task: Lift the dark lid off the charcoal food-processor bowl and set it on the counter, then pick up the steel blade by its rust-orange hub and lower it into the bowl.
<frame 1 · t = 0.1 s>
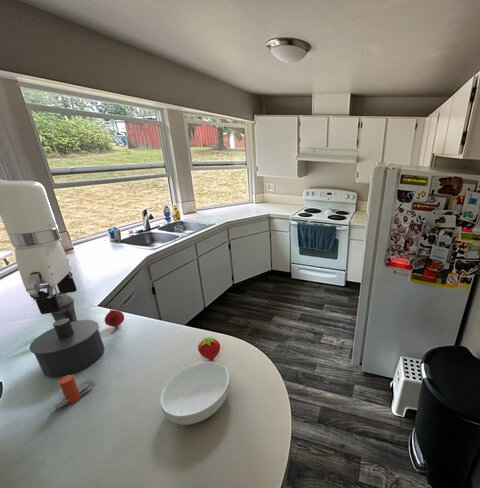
hand: (60, 301, 62), 30 cm above the table, tool pointing down, fingers open, 9 cm apart
beverage cup: (70, 329, 97), on the table
cereal bowl: (200, 404, 70), on the table
strawberry: (211, 360, 85), on the table
processor bowl: (75, 359, 83), on the table
blade: (74, 399, 70), on the table
lid: (66, 336, 80), point 9 cm above the table, touching processor bowl
onion: (117, 326, 99), on the table
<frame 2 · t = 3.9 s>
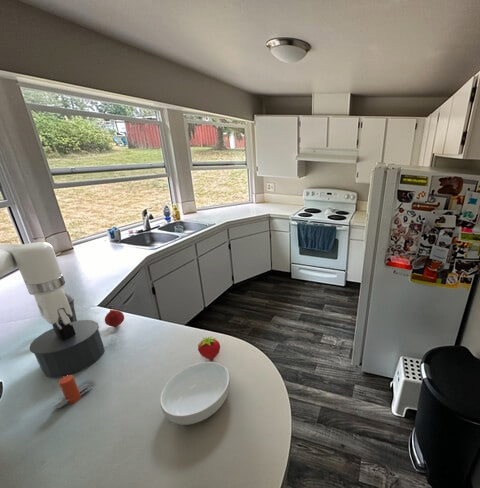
hand: (65, 334, 79), 10 cm above the table, tool pointing down, fingers closed on lid, 3 cm apart
lid: (66, 336, 80), point 10 cm above the table, touching gripper, processor bowl
everything else where it was.
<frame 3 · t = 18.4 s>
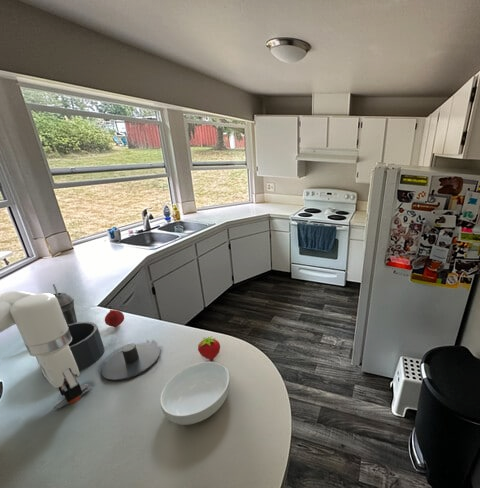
hand: (72, 393, 69), 2 cm above the table, tool pointing down, fingers closed on blade, 2 cm apart
blade: (74, 399, 70), on the table, touching gripper
lid: (132, 360, 83), point 1 cm above the table
everything else where it was.
when the fingers open (3 cm above the table, at t = 27.5 s): blade stays where it is, resting on processor bowl.
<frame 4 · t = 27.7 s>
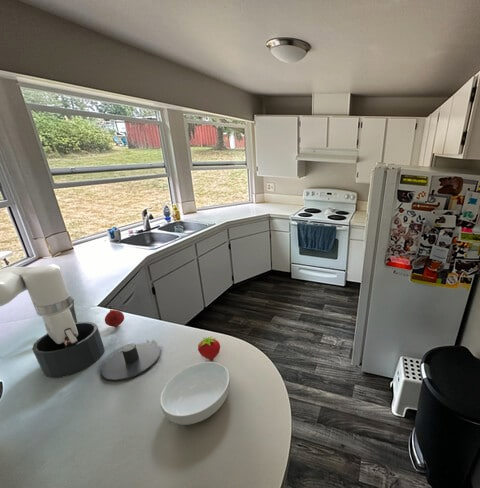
hand: (71, 351, 82), 4 cm above the table, tool pointing down, fingers open, 6 cm apart
blade: (75, 358, 83), resting on processor bowl
everything else where it was.
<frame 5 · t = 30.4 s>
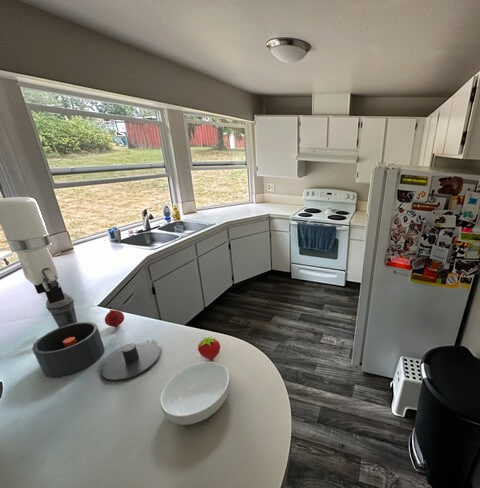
hand: (51, 296, 75), 24 cm above the table, tool pointing down, fingers open, 9 cm apart
nothing on the table moved.
at the end: lid inside the target area (0.1 cm from its centre), point 0.6 cm above the table; blade inside the target area in the processor bowl (0.2 cm from its centre), point 0.5 cm above the processor bowl's base; blade tilted 0° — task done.
